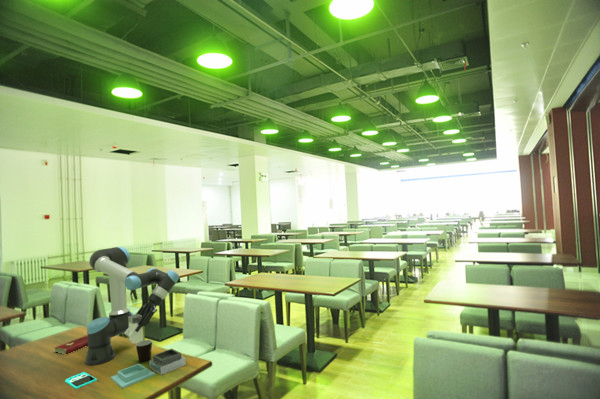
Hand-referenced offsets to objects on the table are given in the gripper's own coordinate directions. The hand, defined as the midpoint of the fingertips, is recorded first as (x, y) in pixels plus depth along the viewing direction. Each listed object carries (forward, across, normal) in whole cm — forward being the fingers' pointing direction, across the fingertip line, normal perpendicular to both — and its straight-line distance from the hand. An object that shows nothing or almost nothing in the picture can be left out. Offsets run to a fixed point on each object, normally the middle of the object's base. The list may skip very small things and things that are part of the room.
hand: (128, 335), depth 177 cm
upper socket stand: (+3, -3, -28) cm, 29 cm away
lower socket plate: (+15, +1, -16) cm, 22 cm away
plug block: (0, 0, -5) cm, 5 cm away
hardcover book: (+19, +77, -14) cm, 80 cm away
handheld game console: (+28, +21, -4) cm, 36 cm away
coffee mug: (+5, +17, -27) cm, 32 cm away
